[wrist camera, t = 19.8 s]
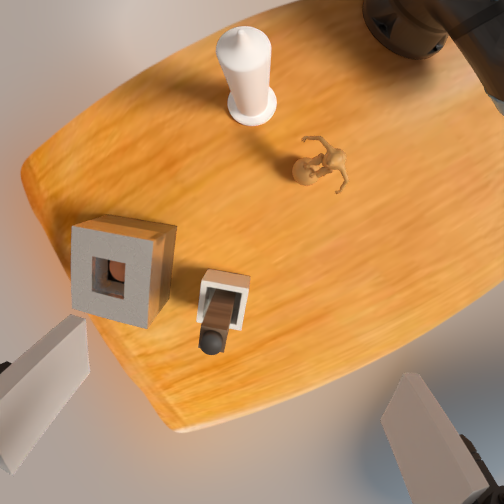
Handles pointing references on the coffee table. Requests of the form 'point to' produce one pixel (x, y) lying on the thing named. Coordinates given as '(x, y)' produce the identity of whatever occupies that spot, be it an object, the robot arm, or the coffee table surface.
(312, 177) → the figurine
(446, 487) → the robot arm
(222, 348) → the wood knob block
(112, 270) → the button
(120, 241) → the grey box with hole
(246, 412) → the coffee table surface
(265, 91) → the candle
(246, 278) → the pen cup
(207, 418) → the coffee table surface
